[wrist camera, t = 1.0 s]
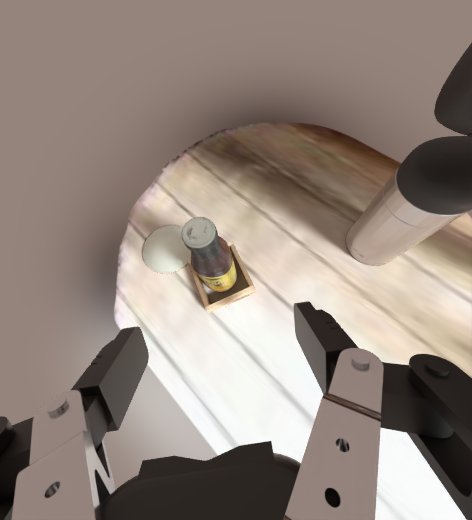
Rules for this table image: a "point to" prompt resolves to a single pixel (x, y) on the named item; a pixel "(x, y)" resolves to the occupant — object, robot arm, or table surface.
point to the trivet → (166, 250)
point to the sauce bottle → (209, 254)
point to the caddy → (229, 299)
